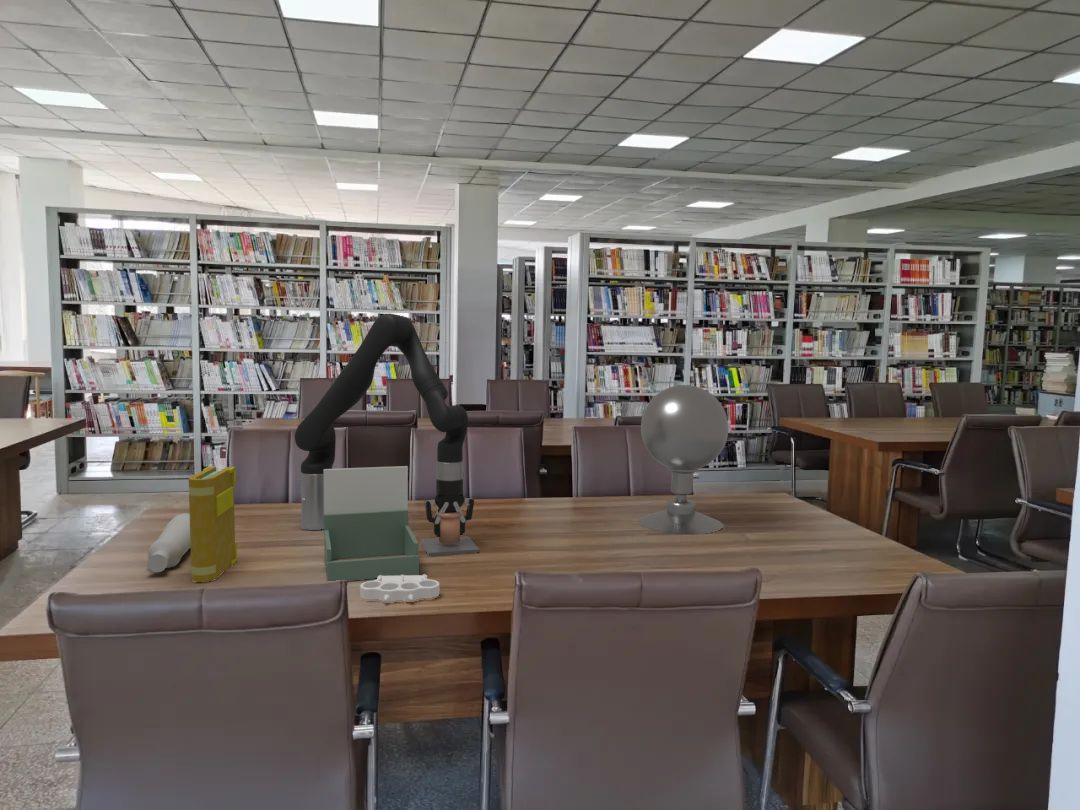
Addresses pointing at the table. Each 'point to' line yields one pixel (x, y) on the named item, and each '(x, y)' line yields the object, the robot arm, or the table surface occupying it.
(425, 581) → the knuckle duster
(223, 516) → the book
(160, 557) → the bottle
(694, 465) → the desk lamp
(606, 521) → the table surface
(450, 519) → the pot
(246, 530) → the table surface
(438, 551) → the slate pad
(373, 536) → the box
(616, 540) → the table surface
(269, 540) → the table surface
